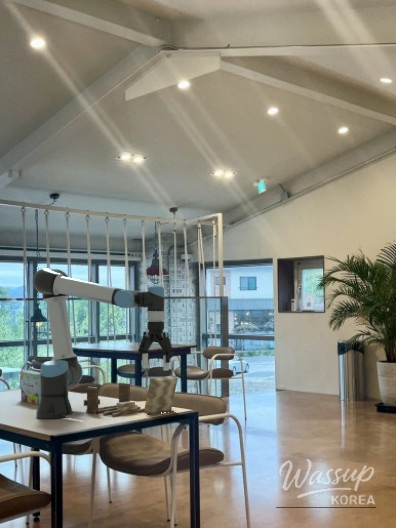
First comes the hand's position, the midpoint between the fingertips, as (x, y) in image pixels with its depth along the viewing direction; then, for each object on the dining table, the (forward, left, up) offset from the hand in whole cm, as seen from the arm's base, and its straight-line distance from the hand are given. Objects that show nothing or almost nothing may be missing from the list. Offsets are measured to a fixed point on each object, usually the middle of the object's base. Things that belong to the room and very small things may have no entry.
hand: (155, 369), depth 289 cm
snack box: (-15, +73, -19) cm, 77 cm away
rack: (-13, +11, -19) cm, 25 cm away
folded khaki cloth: (0, -1, -18) cm, 18 cm away
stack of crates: (-4, +41, -20) cm, 46 cm away
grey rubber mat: (0, 0, -19) cm, 19 cm away
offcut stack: (-13, +5, -19) cm, 23 cm away
